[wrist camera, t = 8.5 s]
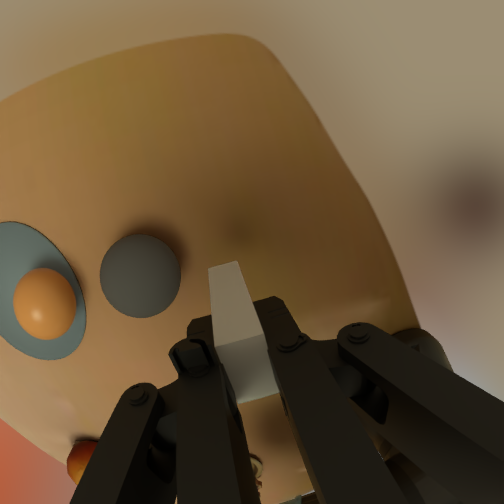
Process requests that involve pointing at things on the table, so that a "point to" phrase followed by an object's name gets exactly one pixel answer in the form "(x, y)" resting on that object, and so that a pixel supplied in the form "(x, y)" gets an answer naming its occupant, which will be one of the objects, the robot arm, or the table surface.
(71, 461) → the fruit
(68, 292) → the orange ball
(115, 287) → the dark grey ball
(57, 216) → the table surface
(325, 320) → the table surface
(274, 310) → the robot arm
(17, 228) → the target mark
